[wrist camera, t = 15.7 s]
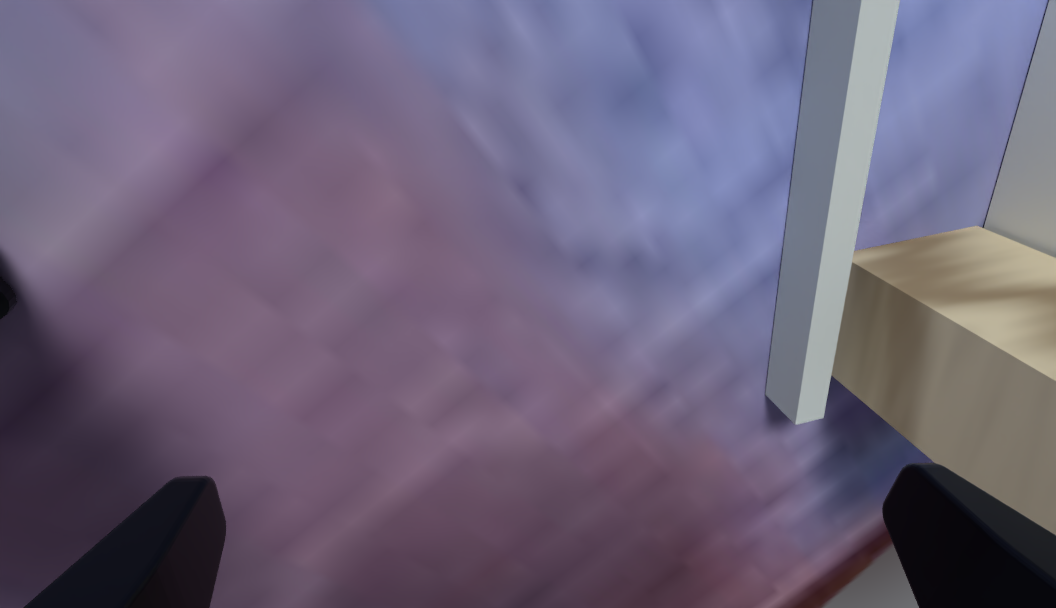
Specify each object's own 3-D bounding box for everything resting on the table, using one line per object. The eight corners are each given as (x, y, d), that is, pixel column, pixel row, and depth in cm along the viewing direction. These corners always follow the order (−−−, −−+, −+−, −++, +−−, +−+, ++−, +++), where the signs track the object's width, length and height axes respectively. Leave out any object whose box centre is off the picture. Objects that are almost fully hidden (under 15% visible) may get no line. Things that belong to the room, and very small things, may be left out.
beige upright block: (820, 365, 26) (1095, 598, 16) (838, 254, 23) (1176, 451, 14) (946, 335, 27) (1274, 538, 17) (977, 225, 24) (1379, 391, 15)
